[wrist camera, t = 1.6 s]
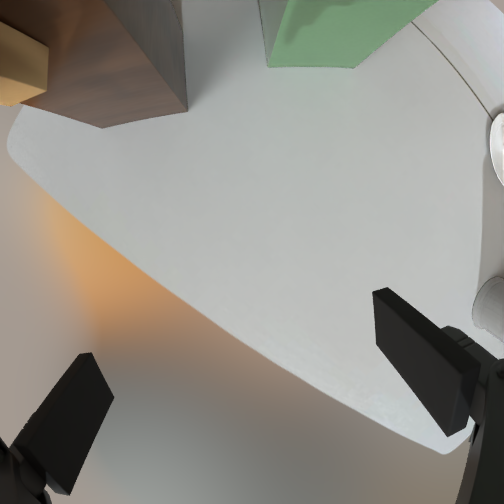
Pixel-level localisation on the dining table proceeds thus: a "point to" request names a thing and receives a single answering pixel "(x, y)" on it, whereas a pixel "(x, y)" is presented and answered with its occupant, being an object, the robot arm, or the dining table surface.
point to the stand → (105, 57)
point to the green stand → (331, 29)
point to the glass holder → (490, 308)
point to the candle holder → (498, 146)
